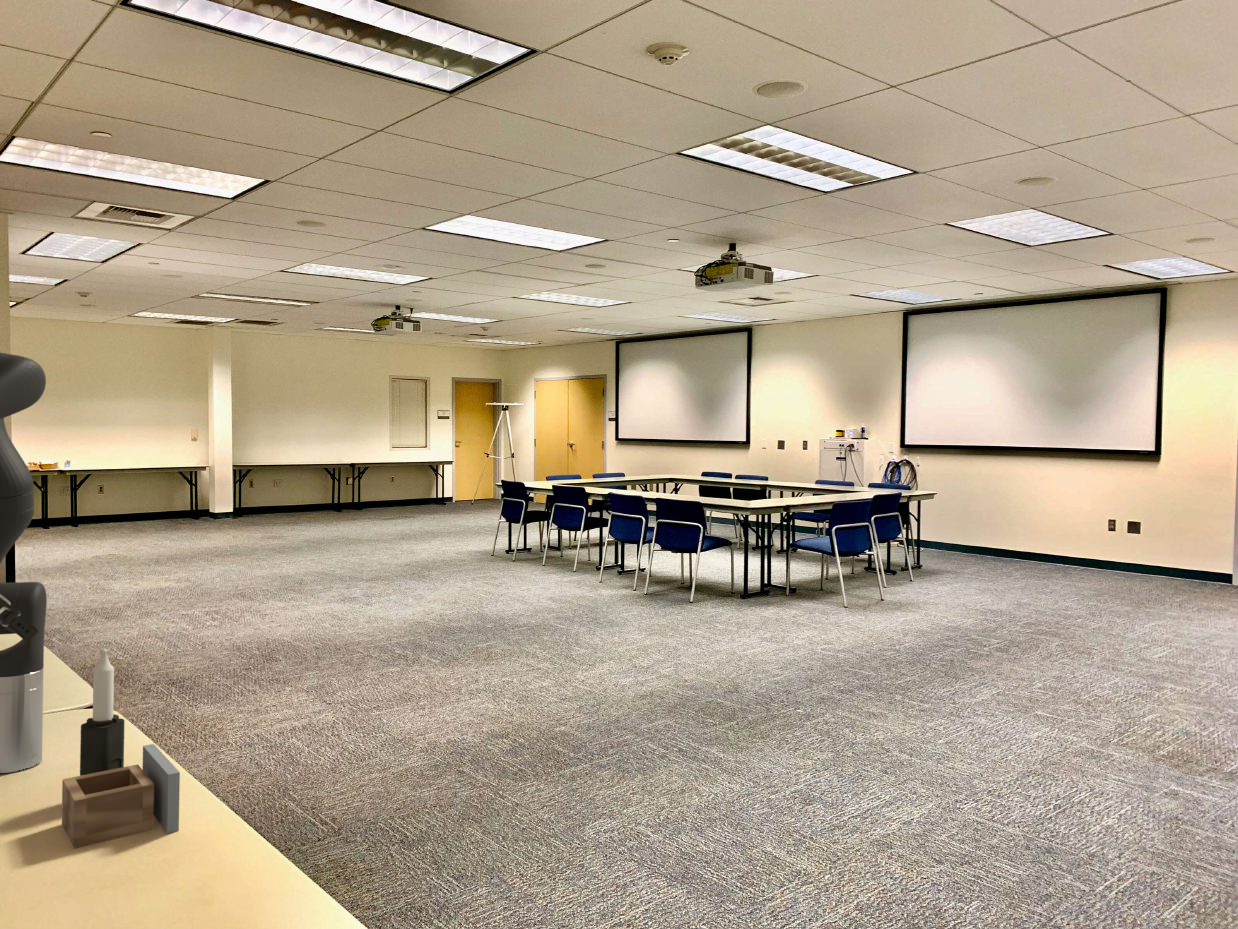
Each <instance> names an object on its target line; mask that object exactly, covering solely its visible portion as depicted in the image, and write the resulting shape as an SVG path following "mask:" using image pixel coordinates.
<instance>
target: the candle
mask: <svg viewBox="0 0 1238 929" xmlns="http://www.w3.org/2000/svg"><path fill="white" fill-rule="evenodd" d="M100 651H101V655H100V658H99V661H98V664H97V665H96V666H95V667H94V669H93V675H92V676H93V680H92V681H93V683H92V684H93V685H92V686H93V687H92V717H89V718H87V719H86V722H84V723H82V724H81V725H80V752H79V756H80V758H79V759H80V760H79V776H82V775H87V774H92V773H97V772H102V771H107V770H112V769H117V768H122V767H125V766H124V765H125V761H124V760H125V758H124V757H125V719H123V718H120V716H119V715H118V714H114V701H115V700H114V693H115V692H114V691H115V690H114V689H115V687H114V686H115V685H114V684H115V668H114V666H113V665H112V664H111V663H110V660H109V657H108V654H107V653H108V650H107V649H106V648H102V649H101V650H100Z"/></svg>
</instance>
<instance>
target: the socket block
mask: <svg viewBox="0 0 1238 929" xmlns="http://www.w3.org/2000/svg"><path fill="white" fill-rule="evenodd" d="M61 784H62V790H61V797H62V798H61V799H62V800H61V825H62V827H63V830H64V832H65V834H66V836H67V838H68V840H69V842H70V844H71V846H72V848H73V849H78V848H83V847H87V846H90V845H91V846H92V845H95V844H98V843H99V844H100V843H104V842H106V841H111V840H115V839H120V838H123V837H127V836H128V837H129V836H131V835H135V834H139V833H140V834H141V833H145V832H147V831H153V830H154V815H153V810H154V784H153V782H152V781H151V780H150V779H149V777H148V776H147V775H146V774H145V772H144V771H143V768H142V767H141V766H140V765H139V764H134V765H128V766H127V765H126V766H124V767H122V768H117V769H112V770H107V771H102V772H97V773H92V774H87V775H82V776H80V775H77V776H73V777H67V778H62V783H61Z"/></svg>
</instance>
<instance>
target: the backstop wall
mask: <svg viewBox="0 0 1238 929" xmlns="http://www.w3.org/2000/svg"><path fill="white" fill-rule="evenodd" d="M142 770H143V771H144V772H145V774H146V775H147V776H148V777H149V779H150V780H151V781H152V782H153V784H154V810H153V817H154V818H155V819H156V821H157V822H158V823H159V824H160V826H161V827H162V829H163V830H164V831H165V833H167V834H170V833H174V832H178V831H180V830H179V829H180V827H179V825H180V788H181V787H180V783H181V782H180V780H181V779H180V778H181V777H180V775H181V773H180V771H179V770H178V769H177V768H176V767H175V765H174V764H173V763H172V762H171V761H170V760H169V759H168V758H167V757H166V755H164V754H163V752H162V751H161V750H160V749H159V748H158V747H157V745H156V744H155V743H152V744H146V745H142Z"/></svg>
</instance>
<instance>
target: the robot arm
mask: <svg viewBox="0 0 1238 929" xmlns="http://www.w3.org/2000/svg"><path fill="white" fill-rule="evenodd" d="M46 381H47V377H46V373H45V371H44V369H43V367H42V366H41V365H40V364H39V363H38V362H37V361H35V360H33V359H32V358H29V357H25V356H22V355H17V354H11V353H4V352H0V565H1V564H2V562H3V560H5V557H6V555H7V554H8V552H10V549H11V548H12V547H13V546H14V545H15V543H16V542H17V540H19V538H20V537H21V536H22V534H24V532H25V530H27V528H28V527H29V525H30V524H31V521H32V520H33V517H34V515H35V514H34V513H35V497H34V496H35V494H34V492H35V491H34V488H35V487H34V481H33V477H32V476H33V475H32V474H31V472H30V469H29V468H28V466H27V464H26V462H25V461H24V459H23V458H22V456H21V454H20V453H19V451H18V450H17V448H16V447H15V445H14V443H13V442H12V440H11V439H10V436H9V434H8V431H7V429H6V423H5V420H4V419H5V418H7V417H10V416H12V415H15V414H17V413H20V412H21V411H25V410H26V409H28V408H30V407H32V406H33V405H35V404H36V403H37V402H39V400H40V399H41V398H42V396H43V394H44V392H45V389H46V383H47V382H46ZM43 584H44V583H43ZM43 584H42V583H41V582H39V581H23V582H0V635H14V634H15V635H17V636H19V637H20V638H21V639H20V641H18V642H16V643H15V644H13V645H11V646H9V647H8V648H4V649H2V650H0V774H7V773H15V772H19V770H20V771H23V769H24V770H26V768H27V769H30V768H32V767H33V768H34V767H35V766H37V765H38V763H39V764H40V763H41V762H42V761H43V730H44V729H43V728H44V727H43V726H44V724H43V723H44V720H43V718H44V667H45V666H44V663H45V662H44V659H45V658H44V656H45V654H44V652H45V649H44V648H45V630H46V628H45V627H46V626H45V625H46V617H47V604H48V603H47V600H48V598H47V590H46V587H45V586H44V585H43ZM40 761H41V762H40ZM36 764H37V765H36Z"/></svg>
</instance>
